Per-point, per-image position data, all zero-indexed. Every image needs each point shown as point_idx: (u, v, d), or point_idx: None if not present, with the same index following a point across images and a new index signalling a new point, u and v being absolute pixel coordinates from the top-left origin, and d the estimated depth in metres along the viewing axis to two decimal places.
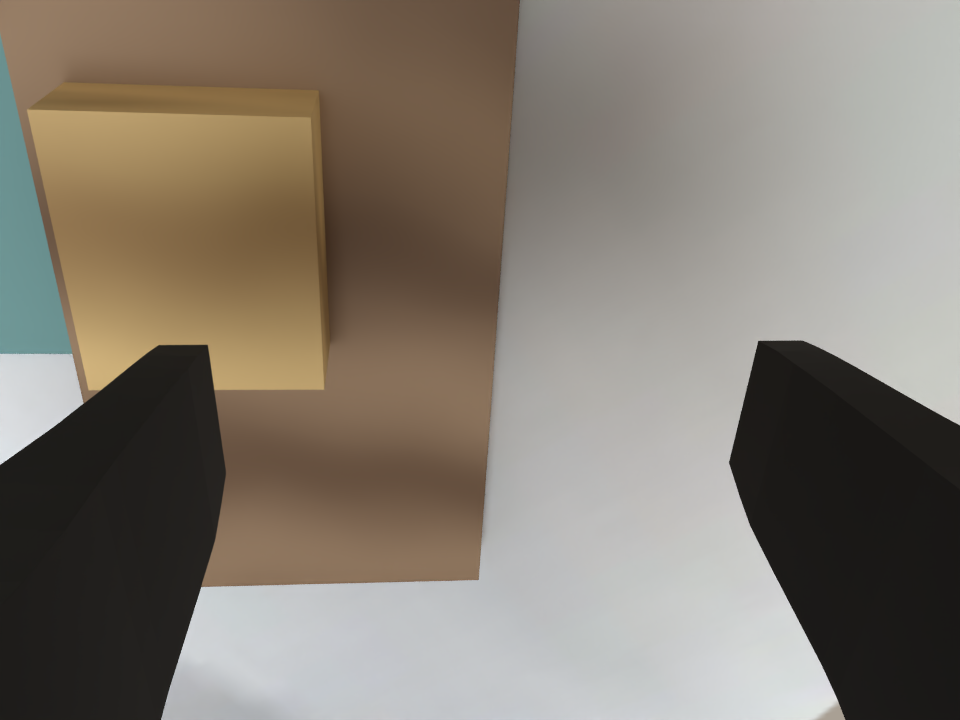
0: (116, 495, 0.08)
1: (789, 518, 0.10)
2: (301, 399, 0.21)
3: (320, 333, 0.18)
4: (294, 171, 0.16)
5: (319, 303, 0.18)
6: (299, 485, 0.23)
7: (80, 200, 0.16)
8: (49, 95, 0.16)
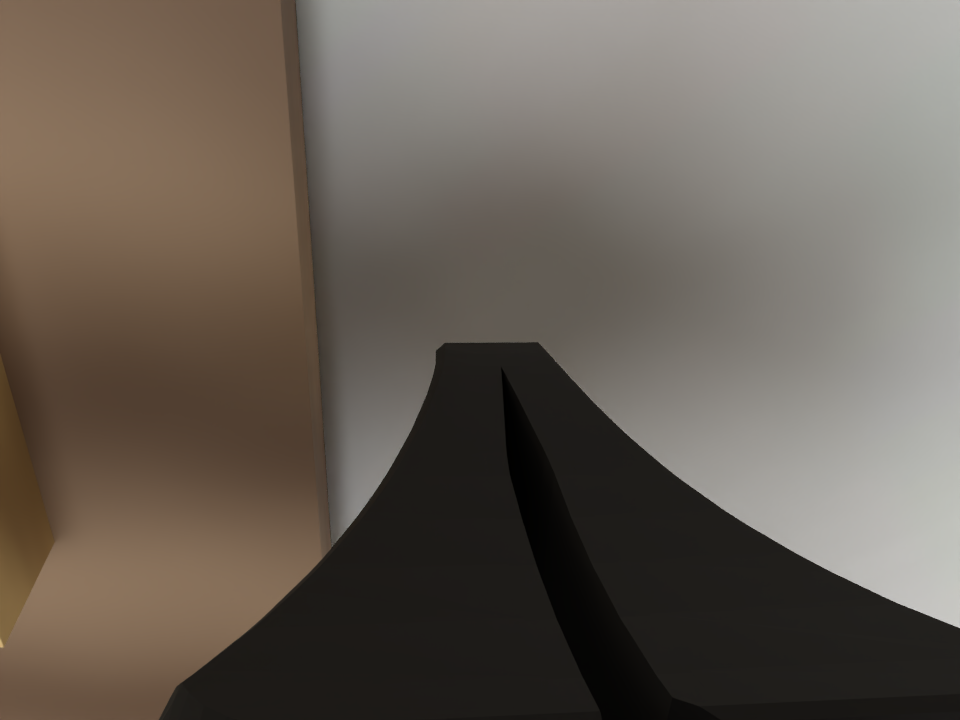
0: None
1: None
2: (26, 617, 0.14)
3: None
4: None
5: None
6: None
7: None
8: None
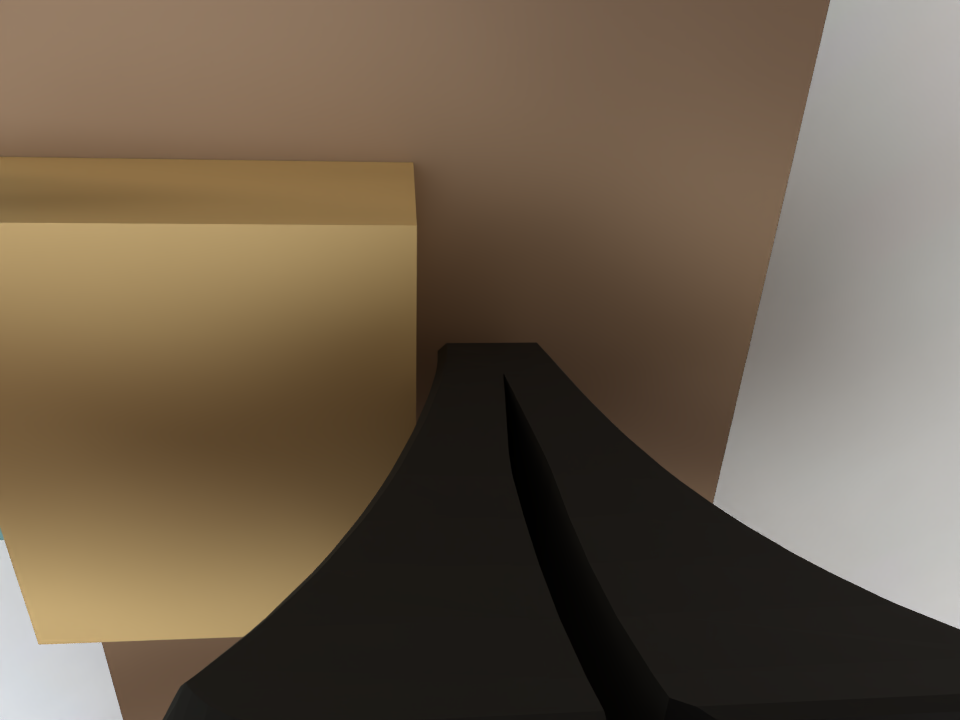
0: None
1: None
2: None
3: None
4: (383, 315, 0.09)
5: None
6: None
7: (9, 371, 0.09)
8: None
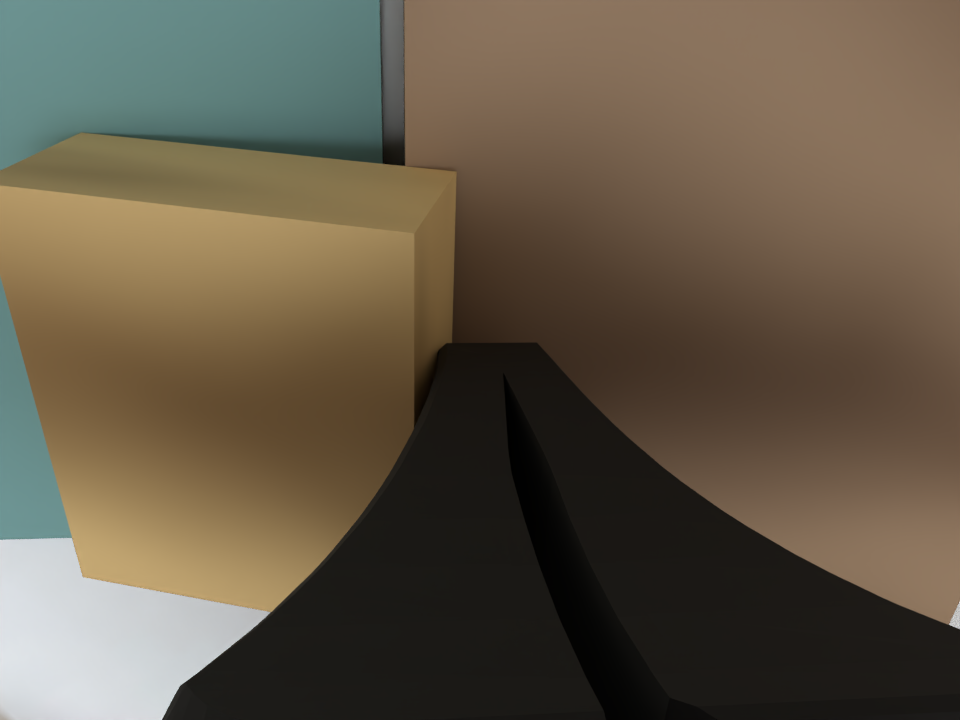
0: None
1: None
2: None
3: None
4: (382, 318, 0.09)
5: None
6: None
7: (59, 325, 0.10)
8: (35, 156, 0.10)
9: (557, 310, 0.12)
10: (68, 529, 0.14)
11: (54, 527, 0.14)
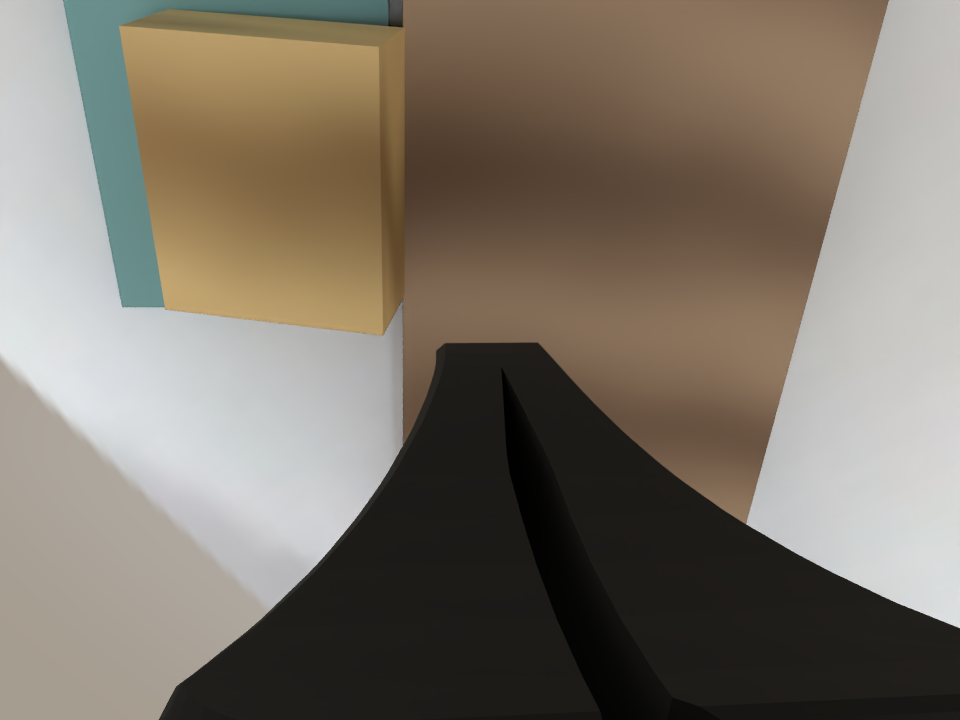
0: None
1: None
2: (611, 350, 0.22)
3: (381, 276, 0.18)
4: (361, 103, 0.16)
5: (381, 244, 0.18)
6: None
7: (163, 119, 0.17)
8: (147, 17, 0.17)
9: (499, 128, 0.18)
10: None
11: (161, 298, 0.21)
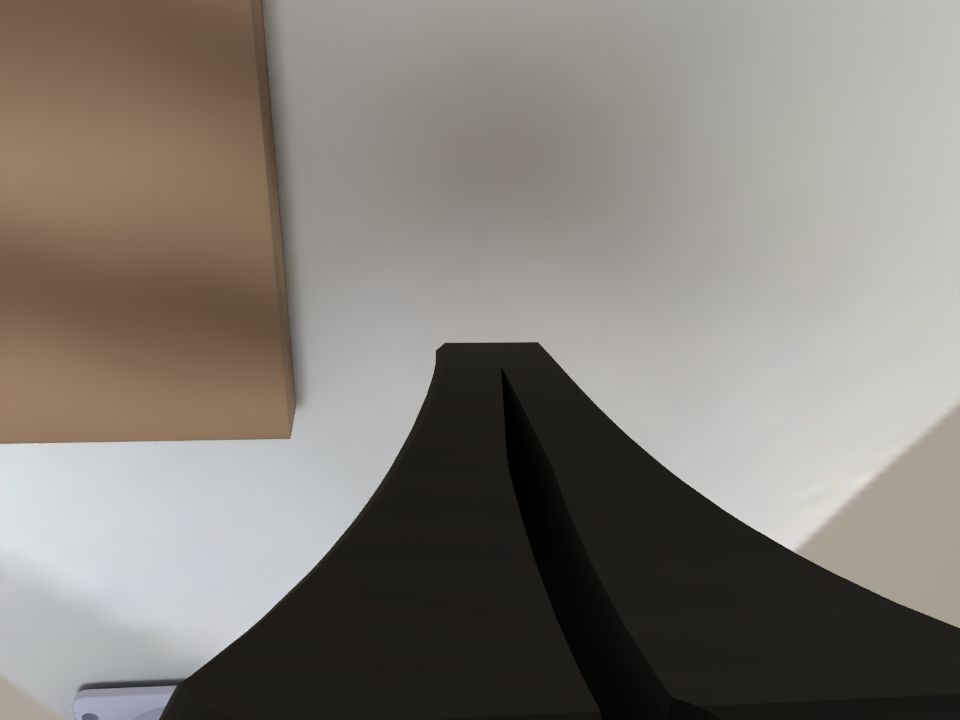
0: None
1: None
2: (43, 202, 0.18)
3: None
4: None
5: None
6: (60, 315, 0.20)
7: None
8: None
9: None
10: None
11: None
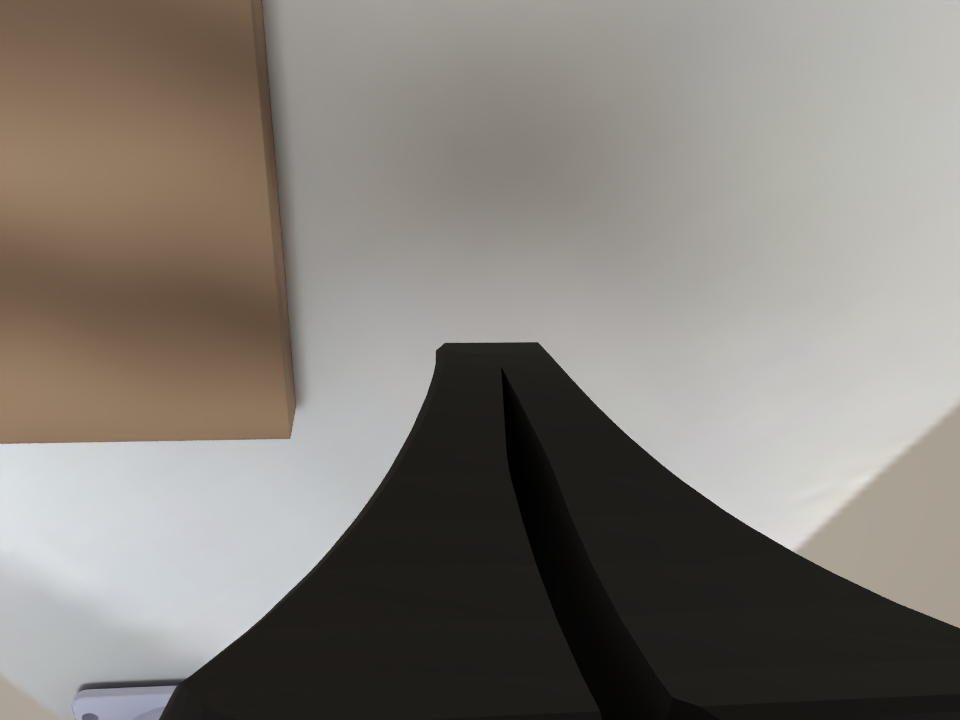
0: None
1: None
2: (43, 202, 0.18)
3: None
4: None
5: None
6: (60, 315, 0.20)
7: None
8: None
9: None
10: None
11: None
